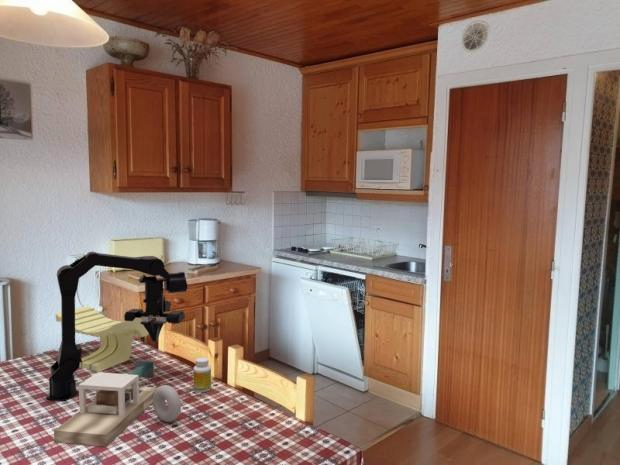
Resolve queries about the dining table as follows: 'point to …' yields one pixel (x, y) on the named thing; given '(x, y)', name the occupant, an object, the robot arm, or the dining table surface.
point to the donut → (172, 399)
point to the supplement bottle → (202, 375)
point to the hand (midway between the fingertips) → (155, 341)
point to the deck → (102, 422)
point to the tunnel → (110, 388)
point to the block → (107, 397)
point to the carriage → (141, 369)
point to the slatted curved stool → (106, 337)
